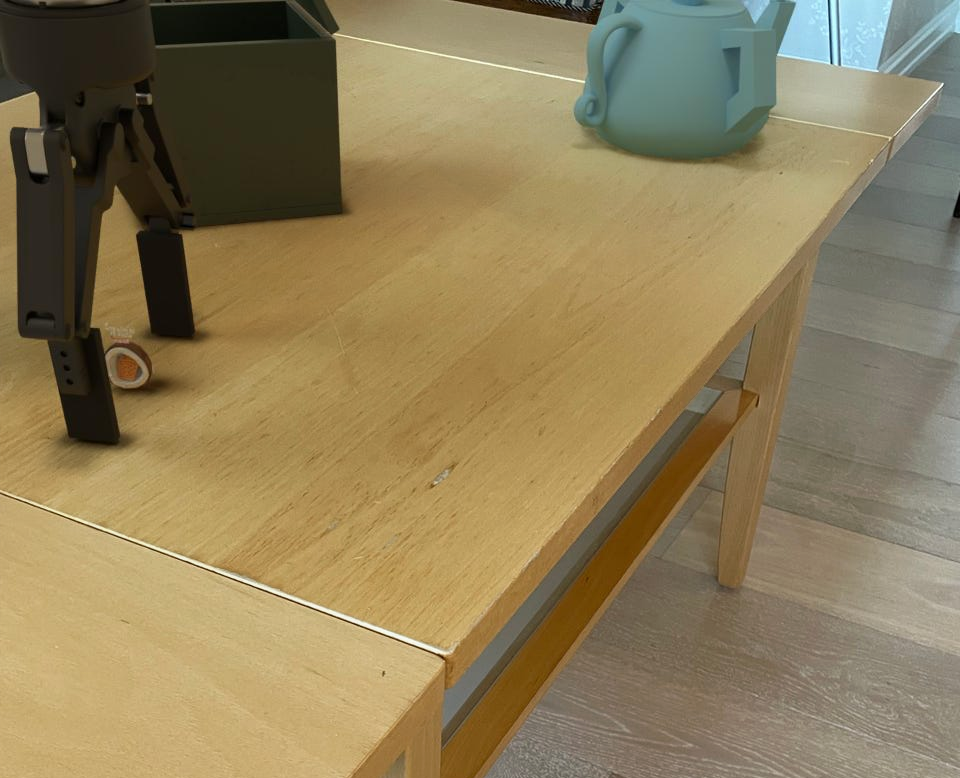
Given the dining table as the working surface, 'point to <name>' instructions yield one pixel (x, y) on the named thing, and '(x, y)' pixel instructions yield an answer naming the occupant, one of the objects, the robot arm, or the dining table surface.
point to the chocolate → (127, 362)
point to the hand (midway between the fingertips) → (137, 381)
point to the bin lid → (320, 14)
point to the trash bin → (250, 108)
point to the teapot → (681, 75)
